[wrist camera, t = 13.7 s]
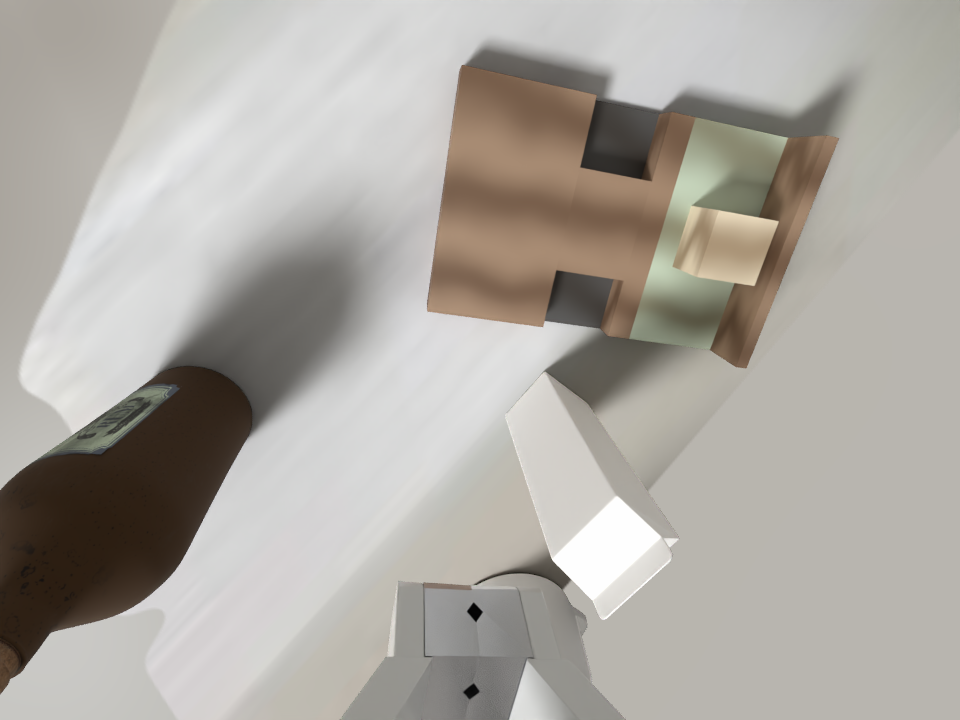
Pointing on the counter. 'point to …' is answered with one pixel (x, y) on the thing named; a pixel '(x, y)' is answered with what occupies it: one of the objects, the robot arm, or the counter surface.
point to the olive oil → (113, 507)
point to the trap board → (608, 214)
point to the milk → (587, 496)
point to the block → (724, 245)
